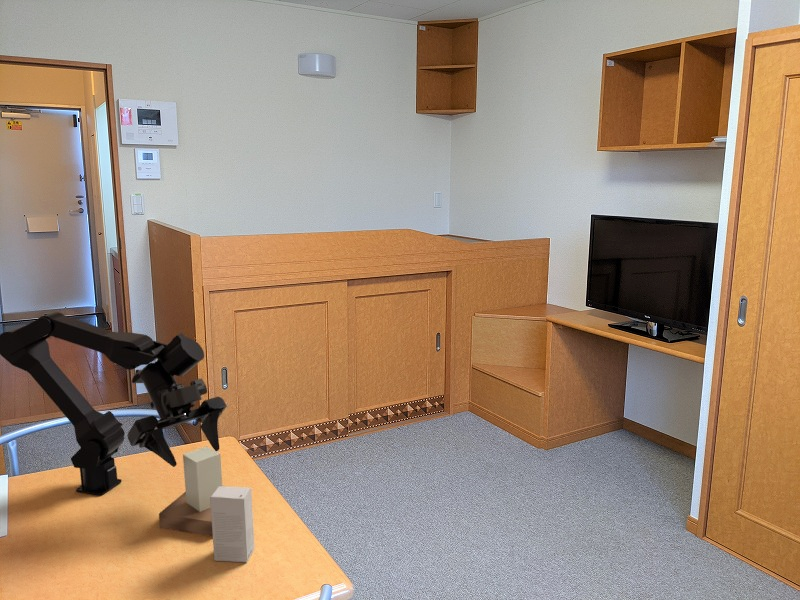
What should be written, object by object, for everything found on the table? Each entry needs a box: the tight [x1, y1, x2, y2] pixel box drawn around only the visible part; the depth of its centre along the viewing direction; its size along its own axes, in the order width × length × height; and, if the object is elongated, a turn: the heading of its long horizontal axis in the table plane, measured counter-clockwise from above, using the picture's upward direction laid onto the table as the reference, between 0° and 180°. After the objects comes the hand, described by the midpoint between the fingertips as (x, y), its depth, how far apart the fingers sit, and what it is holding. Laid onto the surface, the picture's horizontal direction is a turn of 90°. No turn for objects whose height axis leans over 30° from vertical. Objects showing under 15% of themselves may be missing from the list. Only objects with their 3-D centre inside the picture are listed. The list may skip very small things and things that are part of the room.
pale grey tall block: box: [182, 446, 223, 512], centre depth 126 cm, size 5×5×10 cm
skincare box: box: [210, 485, 255, 563], centre depth 114 cm, size 6×4×12 cm
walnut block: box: [158, 491, 213, 538], centre depth 127 cm, size 12×12×4 cm
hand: (197, 457), depth 126 cm, fingers open, 9 cm apart
